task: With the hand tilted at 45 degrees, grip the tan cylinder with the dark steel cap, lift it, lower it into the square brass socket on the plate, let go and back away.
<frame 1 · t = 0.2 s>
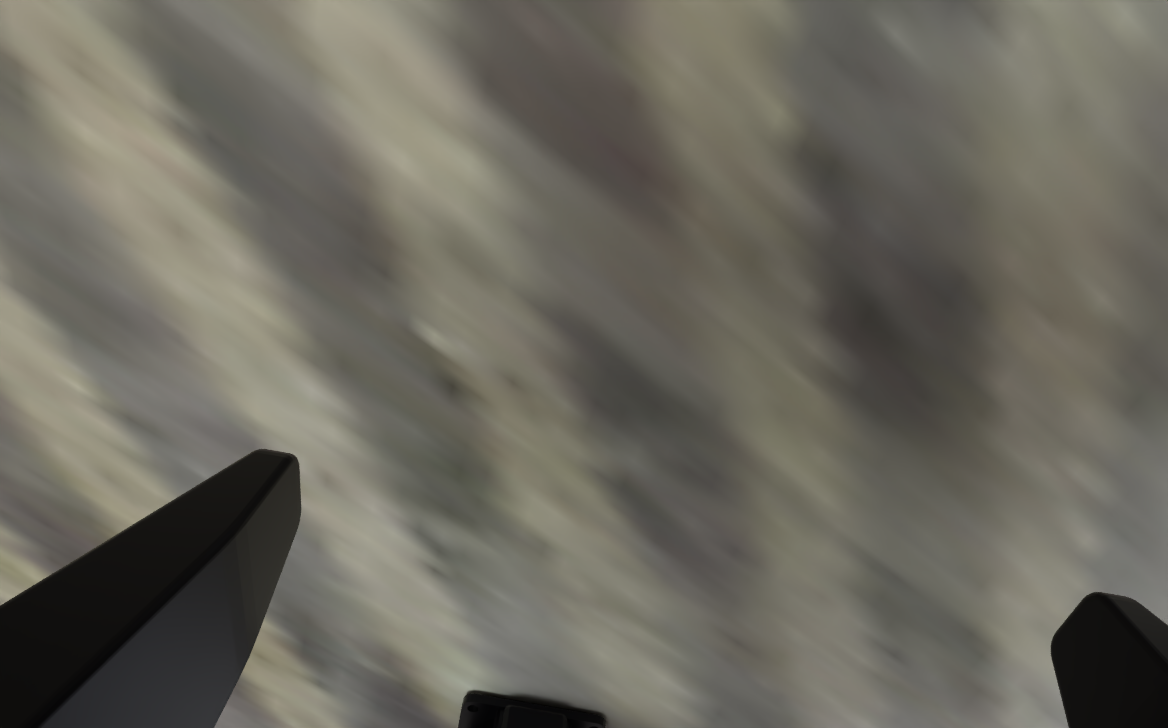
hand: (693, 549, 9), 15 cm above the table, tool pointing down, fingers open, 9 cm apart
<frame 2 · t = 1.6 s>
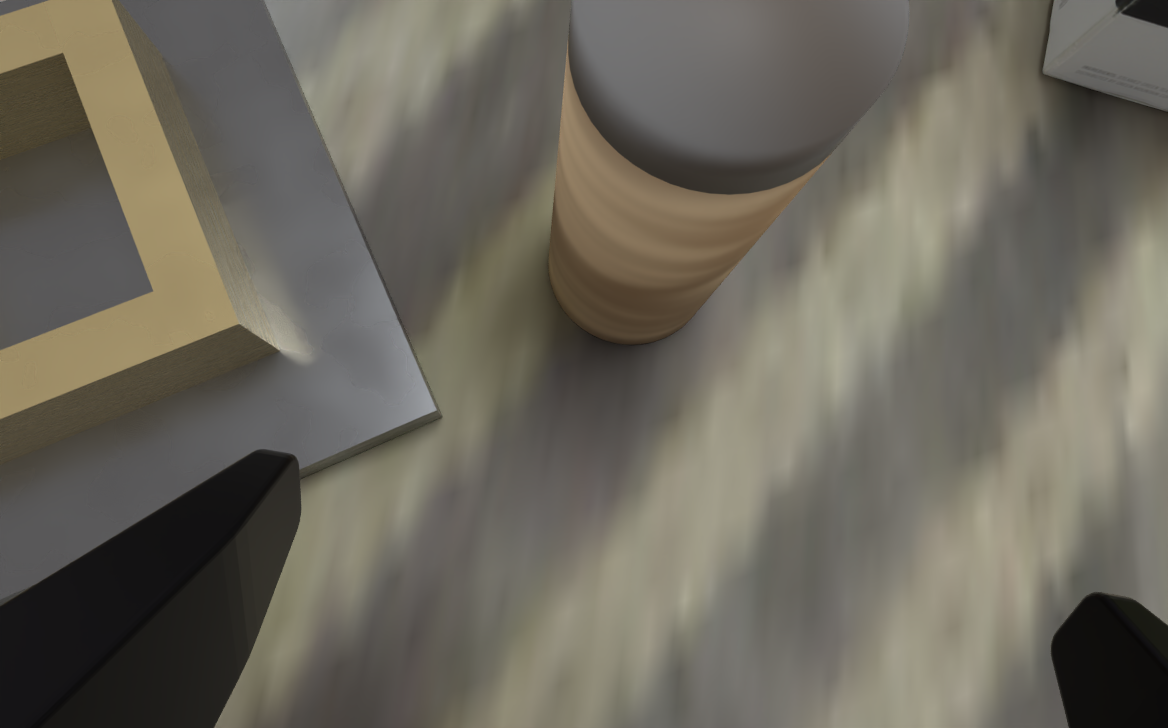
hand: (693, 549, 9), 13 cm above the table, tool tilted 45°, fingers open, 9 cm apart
tan cylinder: (629, 265, 23), on the table
socket: (77, 278, 22), on the table
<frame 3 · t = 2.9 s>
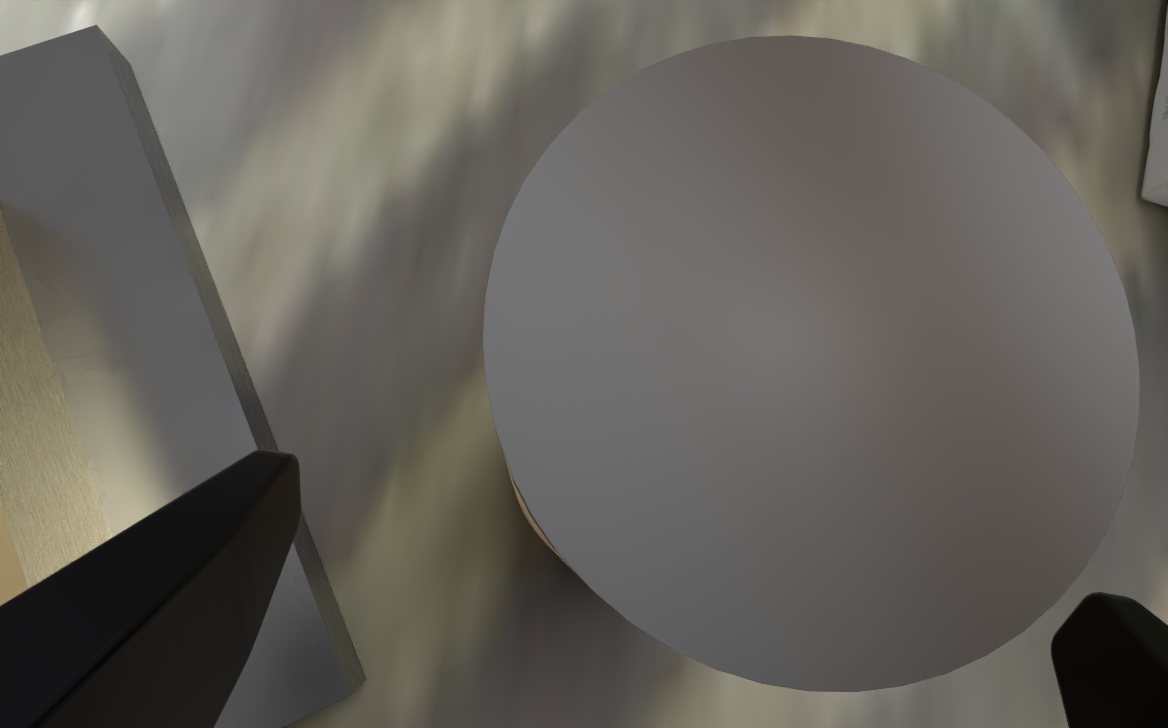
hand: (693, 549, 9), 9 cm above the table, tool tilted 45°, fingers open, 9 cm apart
tan cylinder: (617, 462, 18), on the table
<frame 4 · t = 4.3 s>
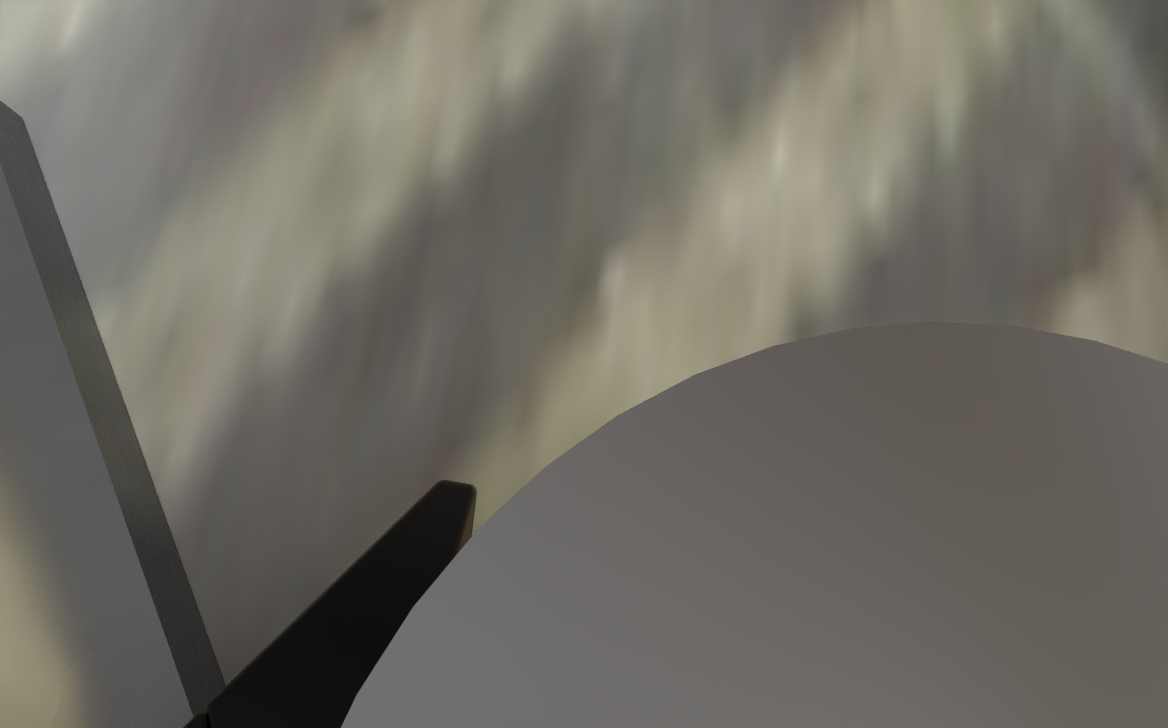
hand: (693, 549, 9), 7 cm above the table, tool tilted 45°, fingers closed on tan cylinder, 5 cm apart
tan cylinder: (609, 607, 15), on the table, touching gripper
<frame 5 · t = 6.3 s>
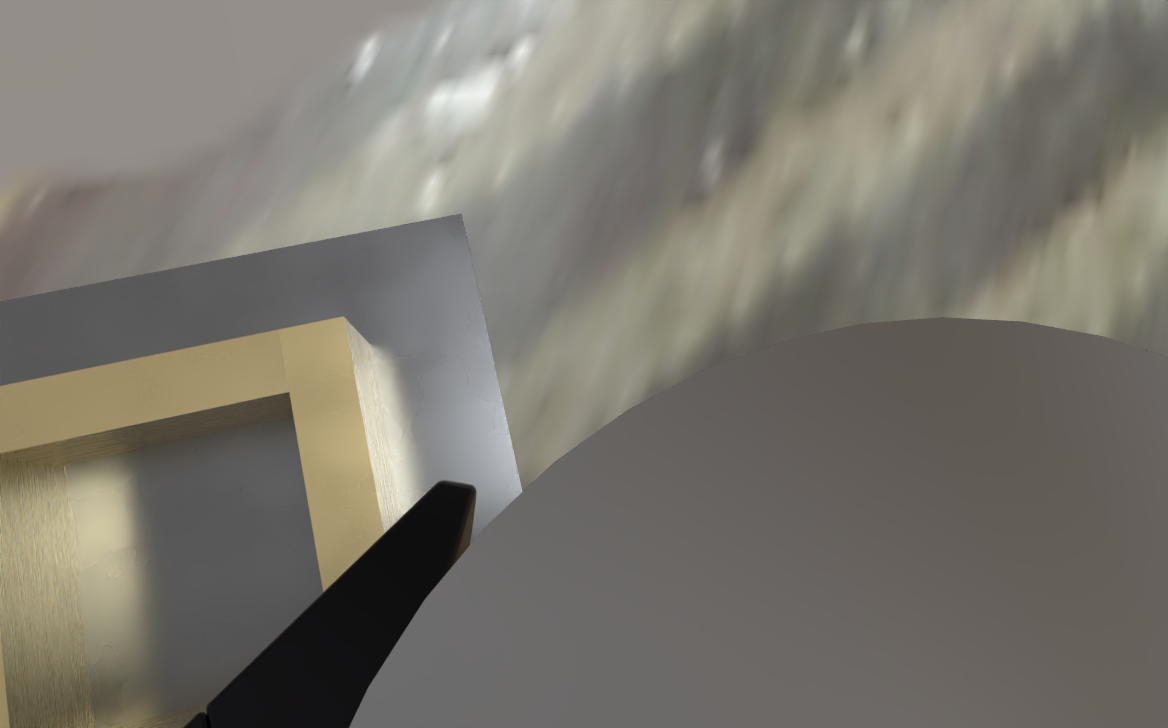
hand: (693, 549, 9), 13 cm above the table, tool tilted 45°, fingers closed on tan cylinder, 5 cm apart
tan cylinder: (611, 605, 15), point 7 cm above the table, touching gripper
socket: (236, 558, 21), on the table
when the fingers open (8 cm above the table, at t = 8.5 s): tan cylinder stays where it is, resting on socket.
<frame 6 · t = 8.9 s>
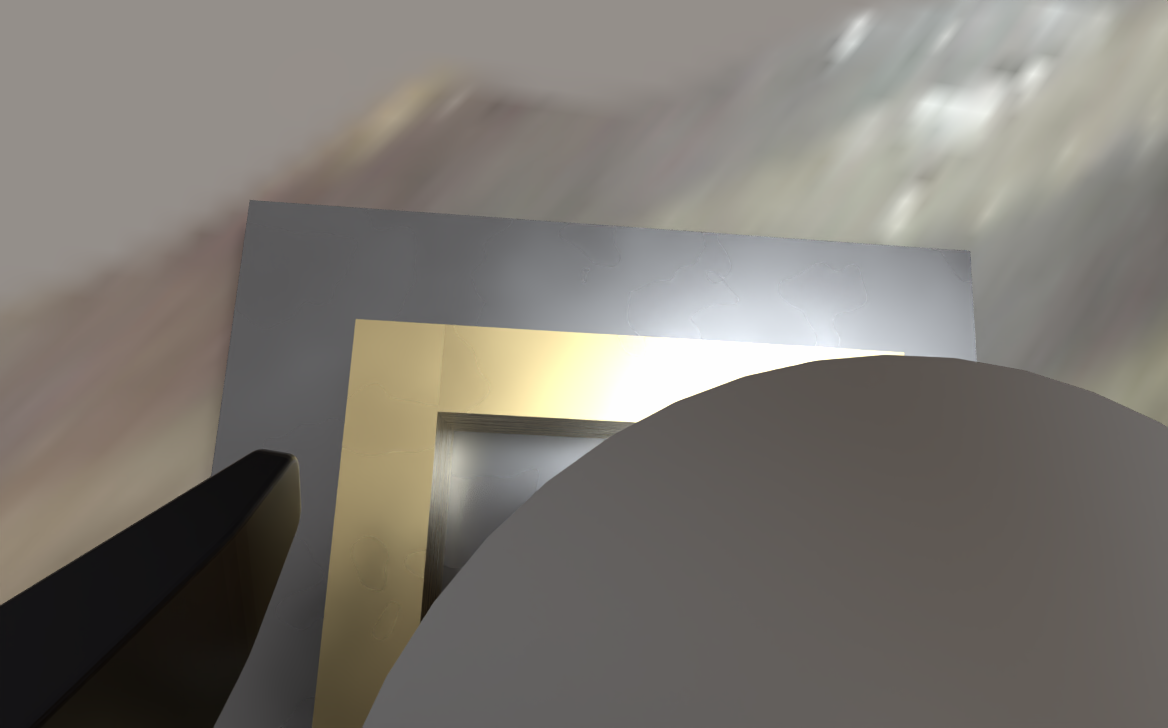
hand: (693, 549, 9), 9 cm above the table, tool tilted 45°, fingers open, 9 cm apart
tan cylinder: (606, 605, 15), point 2 cm above the table, touching socket
socket: (600, 595, 17), on the table
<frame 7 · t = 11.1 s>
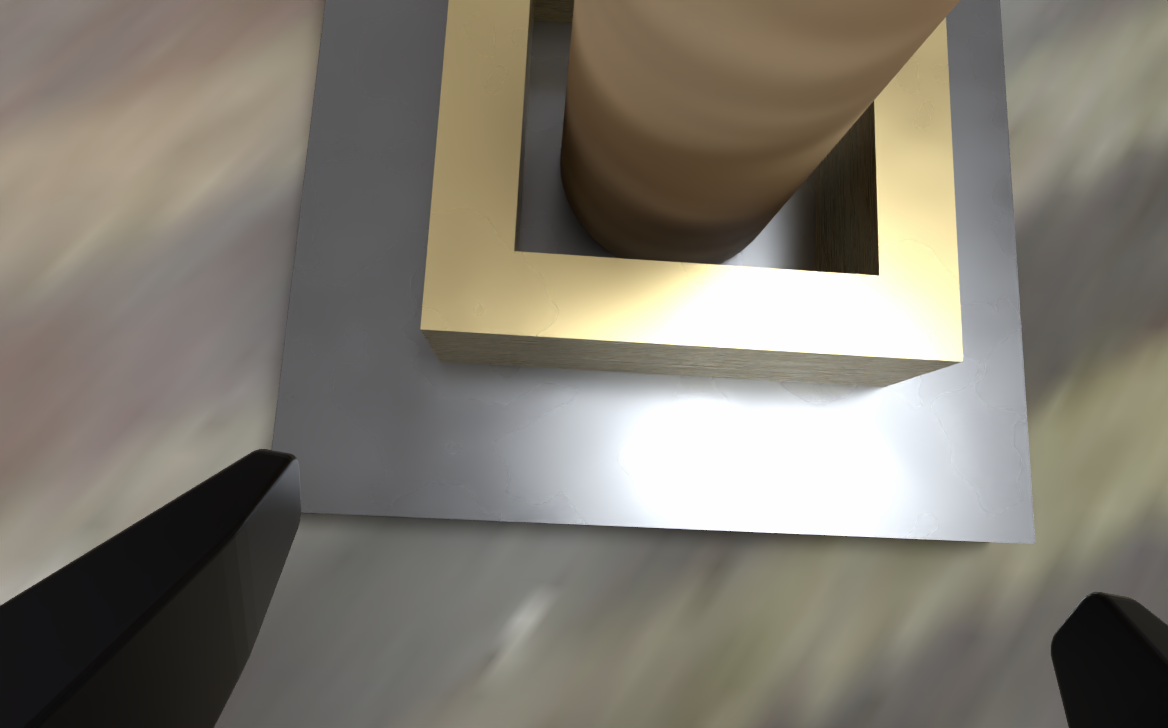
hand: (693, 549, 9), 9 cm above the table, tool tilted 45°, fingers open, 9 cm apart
tan cylinder: (671, 165, 17), point 2 cm above the table, touching socket
socket: (660, 191, 19), on the table
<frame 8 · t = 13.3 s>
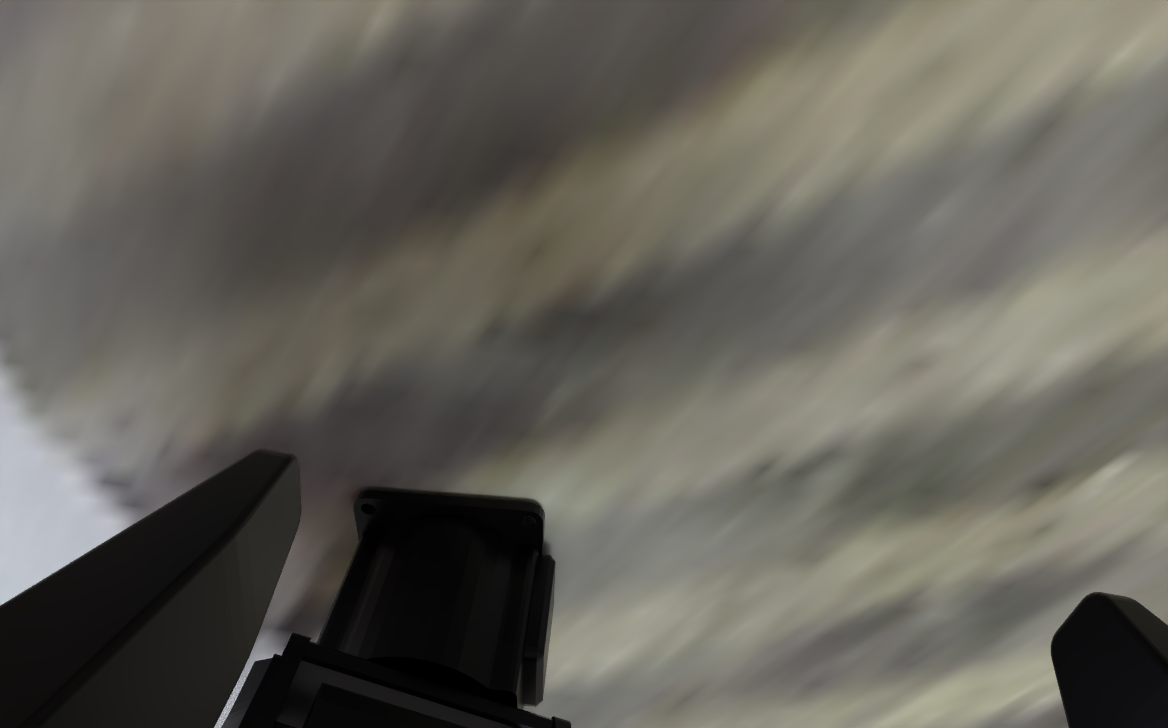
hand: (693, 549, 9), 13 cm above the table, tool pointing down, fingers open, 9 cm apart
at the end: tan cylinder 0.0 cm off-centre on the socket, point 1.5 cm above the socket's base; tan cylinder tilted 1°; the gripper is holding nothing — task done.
